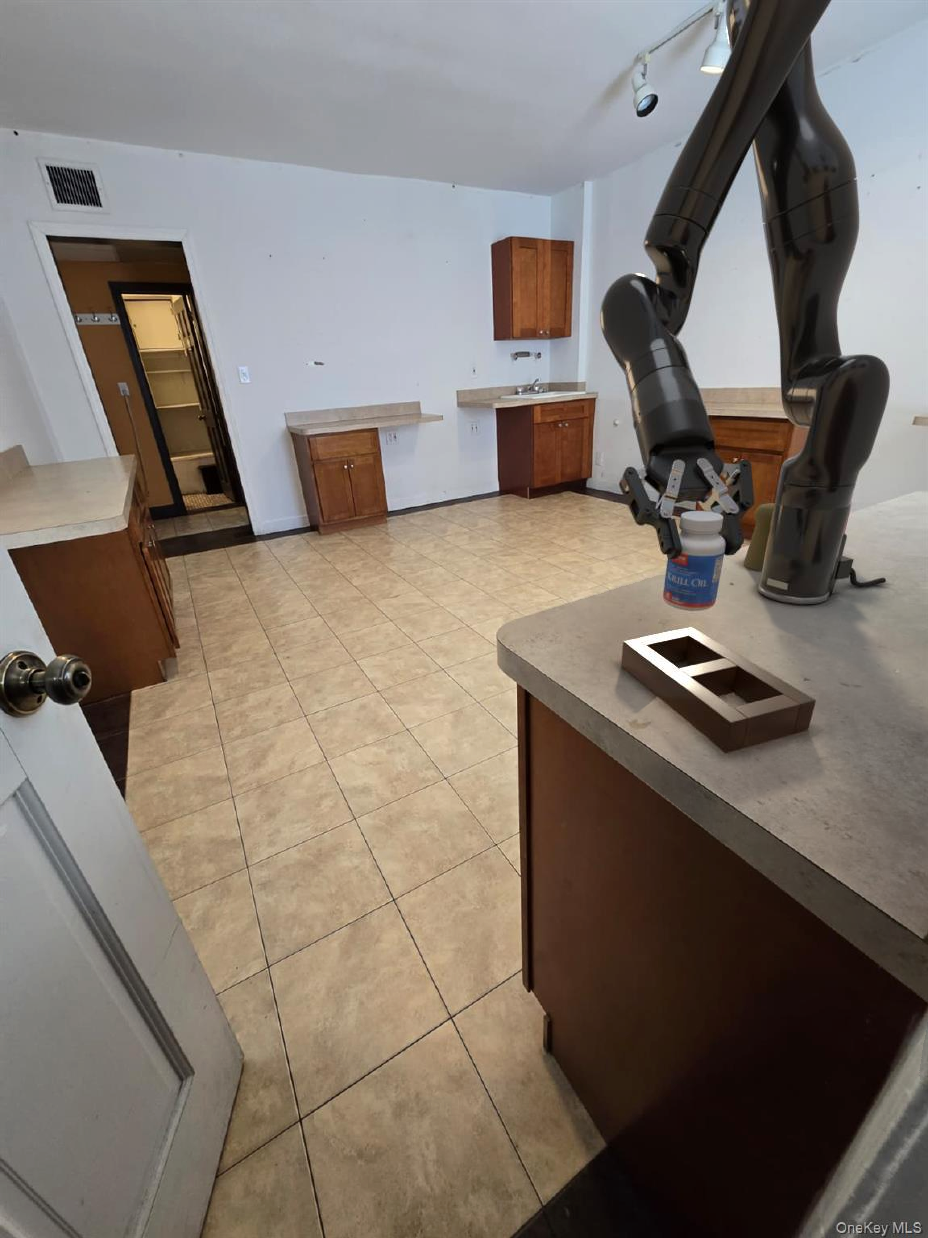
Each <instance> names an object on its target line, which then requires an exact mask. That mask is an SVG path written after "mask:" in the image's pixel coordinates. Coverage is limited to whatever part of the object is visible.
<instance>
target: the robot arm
mask: <svg viewBox="0 0 928 1238" xmlns="http://www.w3.org/2000/svg"><path fill="white" fill-rule="evenodd" d="M831 2H832V0H726V5H725V24H726V25H725V26H726V27H725V28H726V33H727V39H728V44H729V48H730V52H731V53H730V54H729V57H728V59H727V62H726V64H725V66H724V68H723V70H722V72H721V75H720V76H719V79H718V81H717V83H716V85H715V87H714V89H713V91H712V93H711V95H710V97H709V99H708V101H707V103H706V105H705V107H704V108H703V110H702V112H701V114H700V116H699V118H698V120H697V122H696V124H695V125H694V126H693V129H692V131H691V133H690V134H689V137H688V138H687V140H686V142H685V144H684V146H683V148H682V149H681V151H680V153H679V155H678V157H677V160H676V161H675V163H674V166H673V168H672V170H671V172H670V174H669V176H668V178H667V181H666V183H665V185H664V188H663V190H662V193H661V195H660V198H659V200H658V202H657V204H656V207H655V210H654V213H653V214H652V217H651V220H650V222H649V224H648V227H647V229H646V232H645V235H644V238H643V244H642V245H643V249H644V252H645V254H646V255H647V257H648V259H650V261H651V262H652V265H653V266H654V269H655V279H654V280H652V279H651V278H649V277H648V276H646V275H645V274H641V273H637V272H630V273H627V274H623V275H621V276H620V277H618V278H617V279H616V280H614V281H613V282H612V283H611V284H610V286H609V287H608V288H607V290H606V291H605V294H604V295H603V298H602V301H601V305H600V311H599V313H600V314H599V323H600V329H601V331H602V332H601V333H602V335H603V338H604V340H605V342H606V345H607V346H608V348H609V350H610V351H611V354H612V355H613V357H614V359H615V361H616V363H617V364H618V366H619V367H620V368H621V371H622V372H623V374H624V377H625V381H626V386H627V390H628V394H629V399H630V404H631V417H632V426H633V429H634V431H635V435H636V440H637V444H638V448H639V452H640V456H641V461H642V465H643V468H640V469H636V468H635V467H634V466H627V467H626V468H625V469H624V472H623V474H622V476H621V478H620V480H619V482H618V486H619V488H620V491H621V493H622V495H623V498H624V500H625V502H626V505H627V506H628V509H629V511H630V514H631V515H632V518H633V520H634V522H635V524H636V525H637V526H641V527H642V526H645V525H647V526H651V527H653V528H654V529H655V531H656V536H657V541H658V544H659V549H660V552H661V553H662V555H666V558H667V560H668V559H676V558H677V557H678V556H679V555H680V554H681V552H682V545H681V541H680V537H679V533H678V532H679V529H678V525H677V522H676V518H672V516H673V513H674V510H675V504H680V503H683V502H692V503H696V502H697V504H699V506H700V507H701V508H702V510H703V511H708V512H714V513H718V514H721V515H722V516H723V522H722V528H721V530H720V531H719V532H718V535H720V536H722V537H723V538H724V540H725V542H726V546H725V552H724V556H725V557H726V556H734V555H735V554H737V553H738V552H739V551H740V550H741V548H742V546H743V545H744V542H745V536H744V533H743V529H742V527H741V526H742V525H741V523H740V520H741V519H742V518H744V516H745V515H746V513H748V512H749V510H751V509H752V508H753V507H754V505H755V492H754V482H753V470H752V463H751V461H750V460H749V459H745V458H744V459H740V461H739V462H738V463H728V462H724V460H723V459H722V458H721V457H720V456H719V454H717V451H716V439H715V436H714V432H713V429H712V425H711V423H710V422H711V421H710V418H709V416H708V412H707V409H706V405H705V402H704V398H703V395H702V392H701V389H700V387H699V385H698V383H697V381H696V379H695V376H694V373H693V371H692V367H691V363H690V360H689V357H688V354H687V350H686V348H685V346H684V345H683V343H682V342H681V341H680V339H679V338H678V337H679V335H680V334H681V331H682V330H683V328H684V326H685V324H686V322H687V318H688V315H689V312H690V308H691V303H692V300H693V295H694V290H695V286H696V281H697V278H698V273H699V269H700V263H701V258H702V254H703V251H704V249H705V246H706V244H707V242H708V239H710V236H711V234H712V232H713V229H714V227H715V224H716V222H717V220H718V219H719V216H720V214H721V211H722V209H723V208H724V205H725V202H726V200H727V198H728V196H729V193H730V190H731V189H732V187H733V185H734V182H735V180H736V179H737V176H738V174H739V172H740V169H741V168H742V165H743V163H744V161H745V159H746V157H747V155H748V153H749V150H750V149H751V147H752V153H753V154H752V155H753V161H754V167H755V174H756V180H757V187H758V193H759V200H760V209H761V219H762V220H761V221H762V227H763V235H764V241H765V249H766V255H767V261H768V264H769V265H768V266H769V270H770V275H771V283H772V293H773V300H774V309H775V314H776V315H775V316H776V321H777V322H776V323H777V326H778V327H777V329H778V338H779V339H778V341H779V365H780V366H779V368H780V371H779V372H780V398H781V404H782V409H783V412H784V415H785V416H786V418H787V419H788V421H789V422H791V424H793V425H794V426H795V427H798V428H802V429H806V430H808V432H807V435H806V438H805V442H804V445H803V447H802V449H801V451H800V452H799V453H798V454H796V455H794V456H791V457H789V458H787V459H786V460H784V462H783V463H782V465H781V468H780V472H779V478H778V482H777V483H778V484H777V488H776V493H775V494H776V495H775V499H774V503H775V504H774V510H773V515H772V520H771V526H770V531H769V536H768V541H767V547H766V552H765V557H764V562H763V567H762V571H761V573H760V578H759V581H758V586H757V591H758V592H759V594H760V595H762V596H764V597H765V598H768V599H771V600H773V601H777V602H781V603H785V604H786V603H787V604H792V605H793V604H794V605H815V604H816V605H817V604H821V603H824V602H826V601H827V600H828V599H829V597H830V596H832V595H833V594H834V590H835V585H836V582H837V580H838V581H839V580H844V579H849V582H850V584H851V585H852V586H854V587H856V588H869V587H873V586H876V585H881V584H885V583H886V582H887V579H886V578H885V577H879V578H875V579H871V580H869V581H865V582H861V581H858V580H857V579H858V578H857V573H856V570H855V569H854V568H853V564H854V558H850V557H847V556H844V555H843V554H844V551H845V547H846V543H847V539H848V535H847V534H846V533H844V530H845V526H846V522H847V518H848V514H849V515H850V513H849V510H850V511H851V508H850V506H851V507H852V503H851V501H852V500H853V497H854V493H855V487H856V485H857V480H858V477H859V474H860V472H861V471H862V469H863V467H864V466H865V465H866V463H867V462H868V460H869V458H870V456H871V454H872V452H873V449H874V446H875V442H876V439H877V437H878V433H879V429H880V427H881V423H882V420H883V417H884V415H885V411H886V407H887V403H888V399H889V396H890V395H889V394H890V389H891V376H890V371H889V368H888V366H887V364H886V363H885V361H883V360H882V359H881V358H880V357H878V356H876V355H873V354H866V353H865V354H863V353H860V354H845V355H843V354H842V350H841V345H840V336H839V328H838V327H839V325H838V307H839V300H840V296H841V292H842V289H843V286H844V282H845V280H846V277H847V274H848V271H849V268H850V267H851V263H852V259H853V257H854V253H855V250H856V246H857V242H858V237H859V232H860V203H859V201H860V200H859V188H858V179H857V169H856V163H855V158H854V155H853V153H852V150H851V148H850V146H849V144H848V142H847V140H846V138H845V136H844V135H843V133H842V131H841V130H840V129H839V127H838V126H837V124H836V123H835V121H834V120H833V118H832V117H831V115H830V114H829V112H828V110H827V109H826V107H825V105H824V103H823V102H822V99H821V96H820V94H819V91H818V90H819V89H818V87H817V82H816V77H815V72H814V71H815V70H814V69H815V68H814V60H813V59H814V58H813V48H812V33H813V32H814V30H815V29H816V27H817V25H818V24H819V22H820V20H821V18H822V17H823V15H824V13H826V10H827V9H828V7H829V5H830V4H831ZM720 476H722V477H723V478H724V481H725V483H724V481H723V480H722V479H721V478H720ZM645 483H646V484H647V485H648V486H650V487H651V488H652V489H653V490H654V491H656V492H657V493H658V495H657V500H656V503H655V507H654V506H653V503H652V500H651V499H650V496H649V494H648V492H647V491H646V488H645V487H644V486H645ZM728 487H729V488H728ZM710 493H711V495H709V494H710ZM848 519H849V518H848ZM847 523H848V522H847ZM846 527H847V526H846ZM845 531H846V530H845Z"/></svg>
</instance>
